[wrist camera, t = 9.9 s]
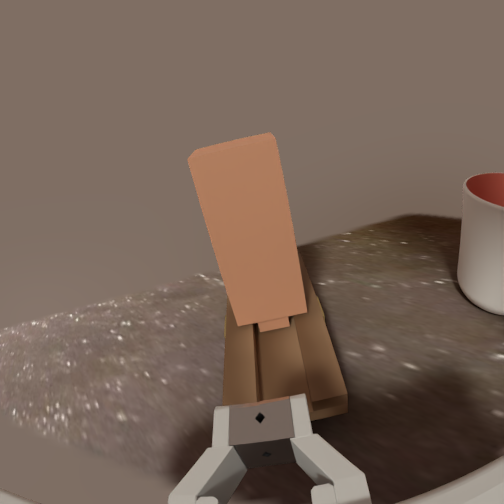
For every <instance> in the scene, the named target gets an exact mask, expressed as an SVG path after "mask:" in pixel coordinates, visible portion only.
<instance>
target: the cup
mask: <svg viewBox="0 0 504 504" xmlns="http://www.w3.org/2000/svg"><path fill="white" fill-rule="evenodd" d="M457 278H458V283H459V285H460V288H461V290H462V291H463V293H464V294H465V295H466V297H467V298H468V299H469V300H470V301H471V302H472V303H474V304H475V305H476V306H478V307H480V308H481V309H483V310H486V311H488V312H490V313H494V314H497V315H504V173H482V174H477V175H474V176H471V177H469V178H468V179H467V180H465V181H464V183H463V205H462V225H461V239H460V250H459V260H458V269H457Z"/></svg>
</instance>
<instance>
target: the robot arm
mask: <svg viewBox="0 0 504 504" xmlns="http://www.w3.org/2000/svg"><path fill="white" fill-rule="evenodd" d="M294 462H297V464H298V465H299V466H300V467H301V468H302V469H303V470H304V471H305V473H306V474H307V475H308V476H309V477H310V478H311V479H312V480H313V481H314V482H315V483H316V484H317V485H318V486H314V487H313V488H312V490H311V496H312V504H372V502H371V498H370V494H369V489H368V485H367V481H366V477H365V474H364V473H363V472H362V471H360V470H359V469H358V468H357V467H356V466H354V465H353V464H352V463H351V462H350V461H348V460H347V459H346V458H345V457H344V456H343V455H341V454H340V453H339V452H338V451H337V450H336V449H334V448H333V447H332V446H331V445H330V444H329V443H328V442H326V441H325V440H324V439H323V438H322V437H321V436H320V435H319V434H313V432H312V427H311V421H310V416H309V410H308V405H307V399H306V395H305V393H303V394H299V395H294V396H286V397H281V398H276V399H270V400H264V401H260V402H254V403H245V404H237V405H226V406H217V407H216V408H215V410H214V421H213V437H212V447H211V448H207V449H206V451H205V452H204V453H203V454H202V456H201V457H200V458H199V459H198V461H197V462H196V463H195V464H194V466H193V467H192V468H191V469H190V470H189V472H188V473H187V474H186V475H185V477H184V478H183V479H182V480H181V481H180V483H179V484H178V485H177V486H176V487H175V488H174V490H173V491H172V492H171V493H170V494H169V498H168V504H227V503H228V501H229V499H230V498H231V496H232V495H233V493H234V491H235V490H236V488H237V486H238V485H239V483H240V481H241V480H242V478H243V476H244V475H245V473H246V471H247V469H248V468H256V467H263V466H270V465H278V464H286V463H294ZM0 504H41V503H38V502H35V501H32V500H29V499H27V498H24V497H21V496H19V495H16V494H14V493H11V492H9V491H6V490H4V489H2V488H0ZM395 504H504V455H503V456H501V457H499V458H497V459H496V460H494V461H492V462H490V463H488V464H487V465H485V466H483V467H481V468H479V469H477V470H475V471H473V472H471V473H469V474H467V475H465V476H463V477H461V478H459V479H456V480H454V481H452V482H450V483H447V484H445V485H443V486H440V487H438V488H436V489H433V490H431V491H428V492H426V493H423V494H420V495H418V496H415V497H412V498H409V499H407V500H404V501H401V502H398V503H395Z"/></svg>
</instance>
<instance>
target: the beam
mask: <svg viewBox="0 0 504 504" xmlns="http://www.w3.org/2000/svg"><path fill="white" fill-rule="evenodd" d="M298 258H299V264H300V269H301V275H302V281H303V288H304V294H305V300H306V306H307V313H302V314H297V315H293V316H288V319H289V324H290V326H289V327H284V328H279V329H274V330H269V331H264V332H260V329H259V326H258V323H253V324H248V325H242V326H238V325H237V322H236V319H235V316H234V313H233V310H232V306H231V303H230V300H229V297H228V295H227V314H226V315H225V329H224V337H225V356H224V380H223V406H226V405H237V404H245V403H254V402H260V401H264V400H270V399H276V398H281V397H286V396H294V395H299V394H303V393H305V395H306V399H307V405H308V410H309V416H310V421H313V420H317V419H322V418H327V417H331V416H335V415H339V414H344V413H348V393H347V390H346V387H345V383H344V380H343V377H342V374H341V371H340V367H339V364H338V361H337V358H336V355H335V352H334V349H333V346H332V343H331V340H330V336H329V333H328V330H327V327H326V324H325V316H324V313H323V310H322V307H321V304H320V301H319V299H318V297H316V295H315V292H314V289H313V286H312V283H311V281H310V278H309V275H308V272H307V269H306V266H305V264H304V261H303V258H302V255H301V252H298Z"/></svg>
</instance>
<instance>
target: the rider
mask: <svg viewBox="0 0 504 504" xmlns="http://www.w3.org/2000/svg"><path fill="white" fill-rule="evenodd" d="M188 163H189V167H190V170H191V174H192V177H193V181H194V184H195V188H196V191H197V195H198V198H199V202H200V205H201V209H202V212H203V215H204V219H205V222H206V226H207V229H208V232H209V235H210V239H211V242H212V245H213V249H214V252H215V255H216V258H217V262H218V265H219V268H220V272H221V275H222V278H223V281H224V284H225V288H226V291H227V294H228V297H229V300H230V303H231V306H232V310H233V313H234V316H235V319H236V322H237V325H238V326H242V325H248V324H253V323H258V326H259V329H260V332H264V331H269V330H274V329H279V328H284V327H289V326H290V324H289V319H288V316H293V315H297V314H302V313H307V306H306V300H305V294H304V288H303V281H302V275H301V269H300V264H299V258H298V252H297V246H296V241H295V235H294V230H293V224H292V219H291V213H290V208H289V203H288V198H287V192H286V187H285V182H284V177H283V172H282V167H281V162H280V157H279V152H278V148H277V143H276V138H274V136H273V135H272V134H271V133H270V132H269V133H264V134H260V135H255V136H250V137H246V138H241V139H237V140H232V141H228V142H224V143H220V144H216V145H212V146H208V147H204V148H200V149H196V150H195V151H194V152H193V153H192V154H191V156H190V157H189V158H188Z"/></svg>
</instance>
